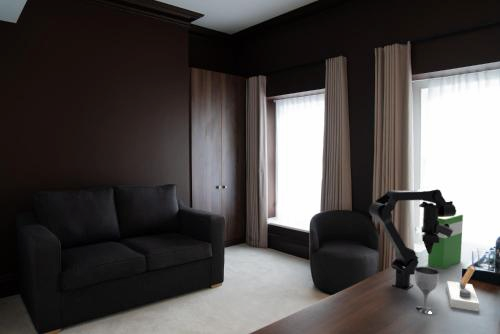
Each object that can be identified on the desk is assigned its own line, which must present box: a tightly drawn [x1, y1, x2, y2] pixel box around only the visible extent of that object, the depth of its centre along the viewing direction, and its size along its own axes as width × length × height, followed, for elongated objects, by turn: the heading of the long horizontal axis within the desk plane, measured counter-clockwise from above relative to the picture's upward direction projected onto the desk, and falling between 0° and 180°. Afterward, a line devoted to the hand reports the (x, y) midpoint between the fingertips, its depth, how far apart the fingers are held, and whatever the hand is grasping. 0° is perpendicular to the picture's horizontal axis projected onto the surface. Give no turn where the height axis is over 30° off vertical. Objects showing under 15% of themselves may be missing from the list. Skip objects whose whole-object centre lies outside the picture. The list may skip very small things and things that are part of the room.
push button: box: [460, 290, 471, 298], centre depth 141 cm, size 4×4×1 cm
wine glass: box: [414, 266, 440, 316], centre depth 135 cm, size 8×8×15 cm
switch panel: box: [446, 280, 480, 312], centre depth 146 cm, size 9×19×3 cm, turn 157°
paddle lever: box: [459, 265, 476, 289], centre depth 149 cm, size 2×4×9 cm, turn 158°
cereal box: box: [427, 214, 464, 270], centre depth 186 cm, size 18×7×24 cm, turn 126°
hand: (429, 253), depth 160 cm, fingers closed
